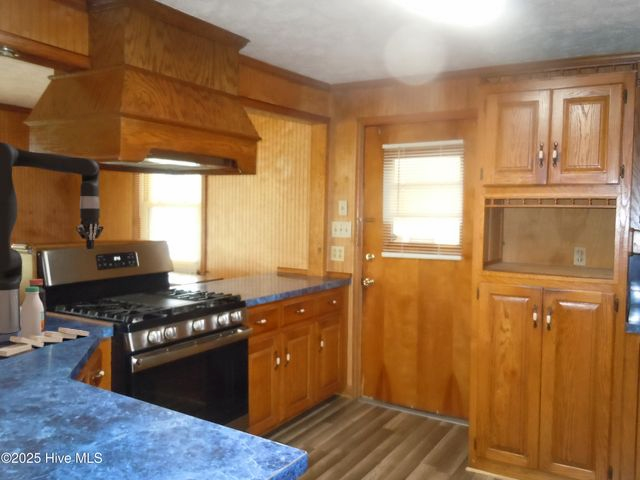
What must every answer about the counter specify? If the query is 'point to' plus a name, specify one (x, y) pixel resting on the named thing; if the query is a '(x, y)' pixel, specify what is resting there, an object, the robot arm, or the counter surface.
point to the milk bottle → (32, 314)
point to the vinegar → (40, 293)
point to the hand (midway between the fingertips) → (90, 249)
